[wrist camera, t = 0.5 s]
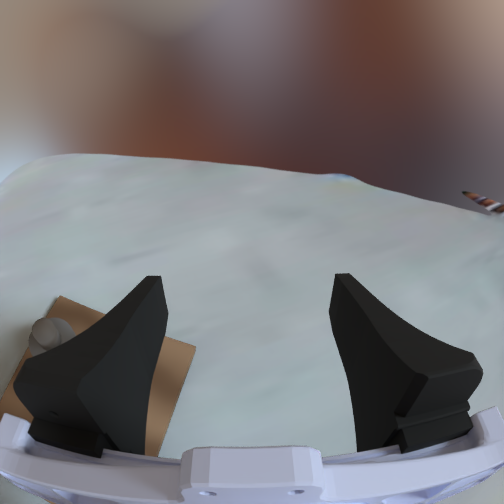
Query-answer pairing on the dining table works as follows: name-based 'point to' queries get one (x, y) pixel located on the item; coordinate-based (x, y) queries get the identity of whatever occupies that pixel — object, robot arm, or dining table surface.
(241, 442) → the dining table surface
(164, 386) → the peg board
